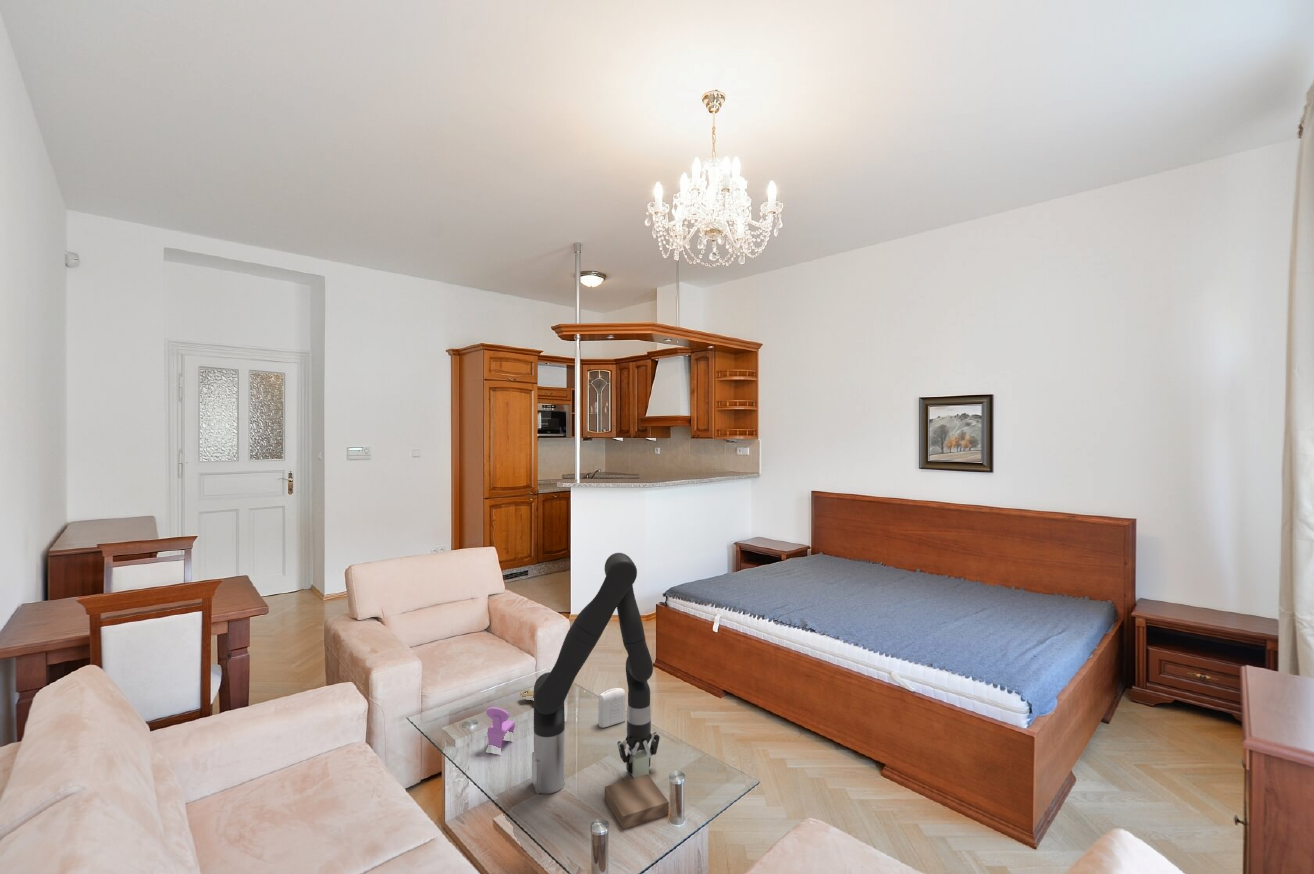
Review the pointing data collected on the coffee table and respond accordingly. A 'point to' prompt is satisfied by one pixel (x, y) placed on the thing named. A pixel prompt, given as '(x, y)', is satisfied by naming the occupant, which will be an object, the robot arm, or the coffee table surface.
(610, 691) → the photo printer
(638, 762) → the sage block
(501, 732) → the toy chair
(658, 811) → the walnut block
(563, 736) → the robot arm
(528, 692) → the oil lamp
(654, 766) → the coffee table surface
